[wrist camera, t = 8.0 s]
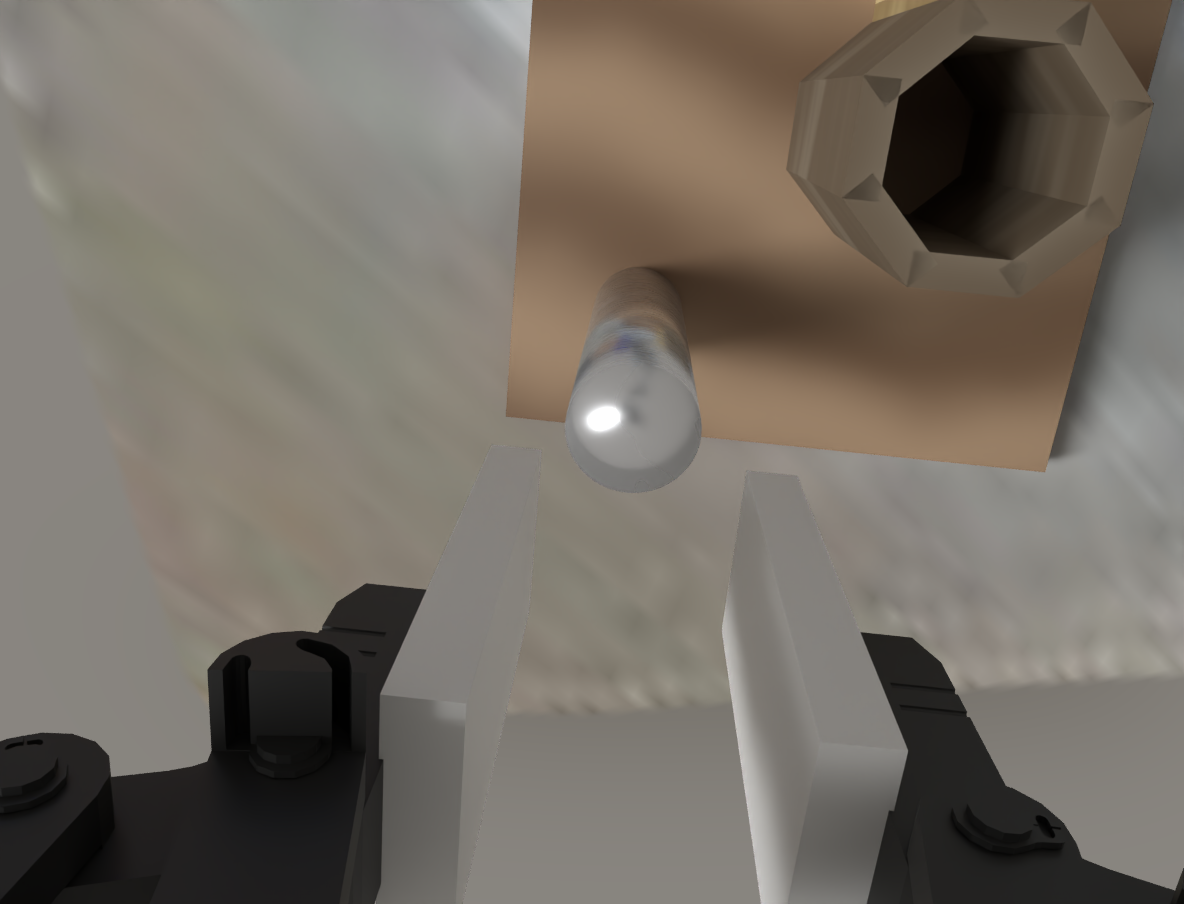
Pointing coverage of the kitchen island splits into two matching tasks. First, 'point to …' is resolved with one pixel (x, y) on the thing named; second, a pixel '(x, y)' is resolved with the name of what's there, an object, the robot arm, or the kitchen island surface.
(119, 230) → the kitchen island surface
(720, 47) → the jig
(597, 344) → the pin
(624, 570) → the kitchen island surface
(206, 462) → the kitchen island surface
